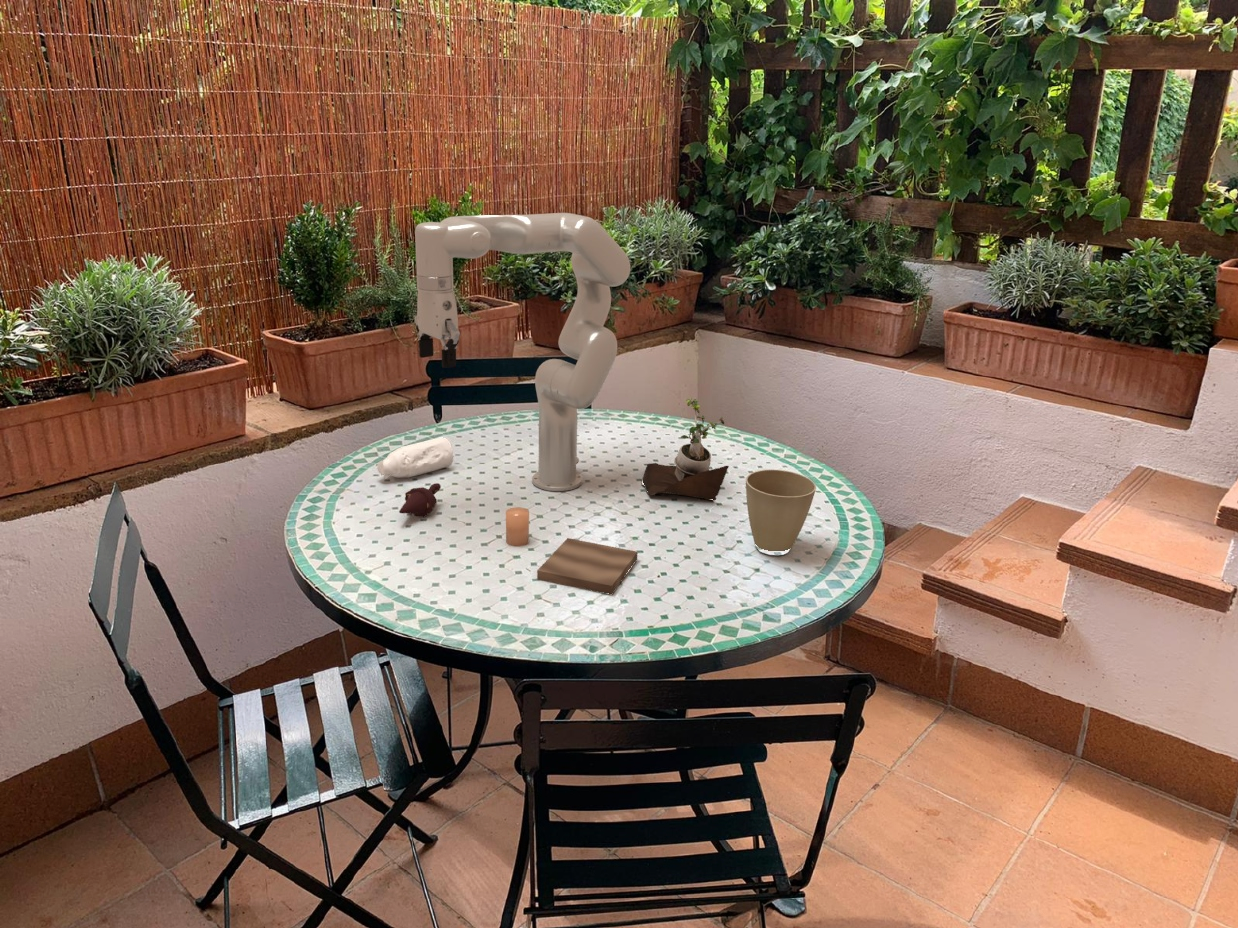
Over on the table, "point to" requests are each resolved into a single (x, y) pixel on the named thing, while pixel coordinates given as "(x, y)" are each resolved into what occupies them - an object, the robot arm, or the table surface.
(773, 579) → the table surface
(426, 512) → the dark brown tapered piece
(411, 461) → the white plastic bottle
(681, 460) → the potted plant
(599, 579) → the walnut board
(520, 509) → the terracotta cylinder
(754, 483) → the plant pot
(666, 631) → the table surface
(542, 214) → the robot arm
